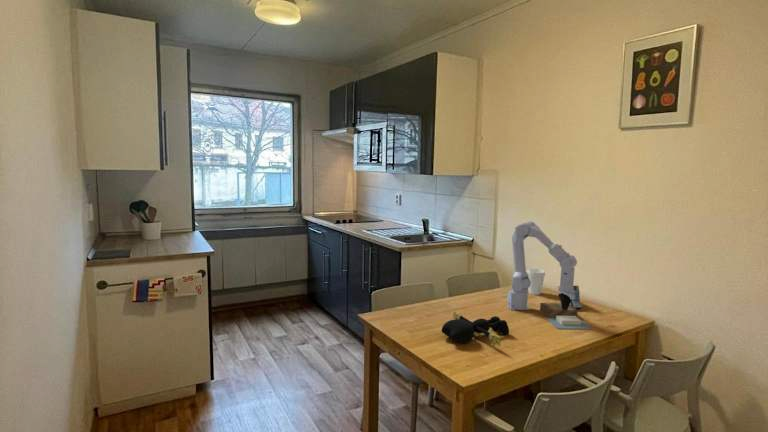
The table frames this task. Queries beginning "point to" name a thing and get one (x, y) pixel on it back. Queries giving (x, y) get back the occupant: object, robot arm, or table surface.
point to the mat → (559, 326)
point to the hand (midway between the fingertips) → (564, 309)
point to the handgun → (576, 298)
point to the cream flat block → (568, 320)
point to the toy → (474, 328)
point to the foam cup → (536, 280)
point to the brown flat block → (556, 310)
